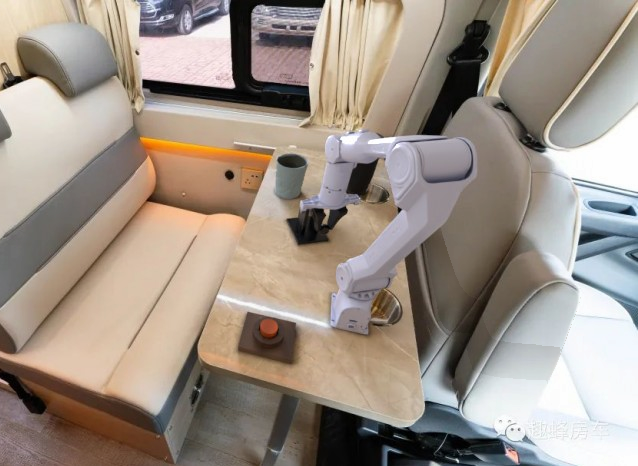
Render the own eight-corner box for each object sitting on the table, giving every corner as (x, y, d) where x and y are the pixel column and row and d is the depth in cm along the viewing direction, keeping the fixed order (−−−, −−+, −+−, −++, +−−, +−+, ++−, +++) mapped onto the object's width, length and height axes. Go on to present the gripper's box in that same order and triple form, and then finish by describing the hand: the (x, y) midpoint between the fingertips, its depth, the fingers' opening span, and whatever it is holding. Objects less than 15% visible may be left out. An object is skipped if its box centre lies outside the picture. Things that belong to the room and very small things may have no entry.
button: (278, 325, 70) (279, 320, 69) (275, 340, 67) (276, 335, 66) (261, 321, 71) (262, 316, 70) (258, 336, 68) (259, 331, 67)
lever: (330, 236, 85) (332, 227, 83) (319, 238, 85) (321, 229, 83) (313, 210, 94) (315, 201, 92) (303, 211, 94) (304, 202, 92)
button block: (295, 326, 73) (297, 317, 71) (290, 364, 67) (292, 355, 64) (247, 315, 76) (247, 306, 73) (237, 350, 69) (238, 342, 67)
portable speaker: (366, 184, 115) (385, 131, 102) (367, 199, 109) (386, 145, 96) (341, 180, 117) (356, 128, 104) (340, 195, 111) (356, 141, 98)
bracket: (328, 241, 94) (335, 214, 87) (297, 245, 93) (303, 218, 86) (314, 217, 102) (320, 191, 95) (286, 221, 101) (290, 194, 94)
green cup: (270, 197, 110) (273, 165, 102) (275, 181, 117) (279, 151, 109) (300, 202, 108) (306, 170, 100) (304, 186, 115) (310, 155, 107)
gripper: (356, 172, 80) (343, 215, 89) (299, 177, 78) (291, 221, 87) (370, 188, 75) (354, 232, 84) (309, 194, 73) (300, 239, 82)
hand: (323, 228), depth 85 cm, fingers closed on lever, 3 cm apart
